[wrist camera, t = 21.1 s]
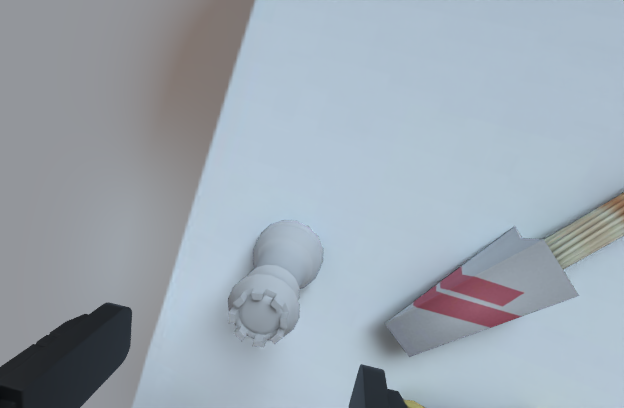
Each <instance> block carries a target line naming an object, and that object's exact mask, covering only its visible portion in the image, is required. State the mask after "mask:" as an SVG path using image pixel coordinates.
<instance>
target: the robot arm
mask: <svg viewBox="0 0 624 408" xmlns="http://www.w3.org/2000/svg"><path fill="white" fill-rule="evenodd" d="M131 321H132V310H131V309H130V308H129V307H125V306H121V305H117V304H113V303H105V304H103V305H102V306H100V307H99V308H97V309H96V310H95V311H93V312H92V313H91V314H89V315H88V314H84V315H81V316H79V317H76V318H74V319H71V320H69V321H67V322H65V323H63V324H62V325H61V326H59V327H58V328H56V329H55V330H53V331H52V332H50V334H49V335H46V336H45V337H43V338H42V339H40V340H39V341H38V342H37V343H36V344H33V345H31V346H30V347H29V348H27V349H26V350H24V351H23V352H21V353H20V354H18V355H17V356H16V357H14V358H13V359H11V360H10V361H9V362H7V363H5V364H4V365H2V366H1V367H0V408H80V407H81V406H82V405H83V404H84V403H85V402H86V401H87V400H88V399H89V398H90V397H91V396H92V394H93V393H94V392H95V391H96V390H97V389H98V388H99V387H100V386H101V385H102V384H103V383H104V382H105V381H106V380H107V379H108V378H109V377H110V376H111V375H112V373H113V372H114V371H115V370H116V369H117V368H118V367H119V366H120V365H121V364H122V363H123V361H124V360H125V358H126V356H127V354H128V352H129V348H130V340H131V339H130V338H131ZM349 408H408V407H407V405H406V403H405V402H404V400H403V398H402V397H401V395H400V393H399V392H398V391H394V390H390V389H387V385H386V378H385V372H384V370H382V369H378V368H374V367H370V366H366V365H362V364H361V365H360V367H359V370H358V374H357V378H356V381H355V385H354V388H353V392H352V396H351V399H350V403H349Z"/></svg>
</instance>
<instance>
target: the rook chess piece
mask: <svg viewBox="0 0 624 408" xmlns="http://www.w3.org/2000/svg"><path fill="white" fill-rule="evenodd" d="M322 262H323V247H322V244H321V241H320V239H319V236H318V235H317V234H316V233H315V232H314V231H313V230H312V229H311V228H310V227H309V226H307V225H305V224H302V223H300V222H298V221H291V220H282V221H279V222H276V223H273V224H270V225H269V226H268V227H267V228H266V229H265V230H264V231H263V232H262V233H261V235H260V237H259V238H258V240H257V242H256V245H255V247H254V249H253V265H254V267H255V269H254V270H253V271H251V272H250V273H249V274H248V275H247V277H245V278H243V279H241V280H240V281H239V282H238V283H237V284H236V285H235V286H234V287H233V288H232V291H231V293H230V296H229V298H228V307H229V313H228V315H229V323H234V324H235V325H236V326H237V328H236V330H235V332H234V334H235V335H236V336H237V337H238V338H239V339H240V340H241V341H242V340H243V339H244V338H245V336H246V335H247V336H249V337H251V338H253V339H254V341H253V345H252V346H254V347H264V345H265V343H266V340H271V341H272V342H273V343H274V344H276V343H277V342H278V341H279V340H281V339H282V338H283V337H284V336H285V335H287V334H288V333H289V332H290V331H292V330H293V329H294V327H295V325H296V323H297V321H298V319H299V312H300V304H299V302H298V300H299V290H300V289H302V288H304V287H305V286H307V285H308V284H309V283H310V282H311V281H313V280H314V279H315V278H316V276H317V274H318V272H319V270H320V268H321V264H322Z"/></svg>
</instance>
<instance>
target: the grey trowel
mask: <svg viewBox="0 0 624 408" xmlns="http://www.w3.org/2000/svg"><path fill="white" fill-rule="evenodd" d="M622 236H624V193H623V194H621V195H619V196H617V197H616V198H614V199H612V200H611V201H609V202H607V203H605V204H604V205H602V206H600V207H599V208H597V209H595V210H594V211H592V212H590V213H589V214H587V215H585V216H584V217H582V218H580V219H579V220H577V221H575V222H574V223H572V224H570V225H568V226H567V227H565V228H563V229H561V230H560V231H558V232H556V233H554V234H553V235H551V236H549V237H547V238H546V239H528V238H522V236H521V235H520V233H519V232H518V230H517V229H516V227H513V228H512V229H511V230H509V231H508V232H507V233H505V234H504V235H503V236H501V237H500V238H498V239H497V240H496V241H494V242H493V243H492V244H490V245H489V246H488V247H486V248H485V249H484V250H482V251H481V252H480V253H478V254H477V255H476V256H474V257H473V258H472V259H470V260H469V261H468V262H466V263H465V264H464V265H462V266H461V267H460V268H458V269H457V270H456V271H454V272H453V273H452V274H450V275H449V276H448V277H446V278H445V279H444V280H442V281H441V282H439V283H438V284H437V285H435V286H434V287H433V288H431V289H430V290H429V291H427V292H426V293H425V294H423V295H422V296H421V297H419V298H418V299H417V300H415V301H414V302H413V303H411V304H410V305H409V306H407V307H406V308H405V309H403V310H402V311H401V312H399V313H398V314H397V315H395V316H394V317H393V318H391V319H390V320H389V321H387V322H386V323H385V325H386V326H387V328H388V329H389V330H390V332H391V333H392V334H393V336H394V337H395V339H396V340H397V341H398V343H399V344H400V345H401V347H402V348H403V349H404V351H405V352H406V353H407V355H408V356H409V357H410V356H413V355H416V354H419V353H422V352H424V351H427V350H430V349H433V348H435V347H438V346H441V345H444V344H447V343H449V342H452V341H455V340H458V339H460V338H463V337H466V336H469V335H472V334H474V333H477V332H480V331H483V330H485V329H488V328H491V327H494V326H497V325H499V324H502V323H505V322H508V321H510V320H513V319H516V318H519V317H522V316H524V315H527V314H530V313H533V312H535V311H538V310H541V309H544V308H546V307H549V306H552V305H555V304H558V303H560V302H563V301H566V300H569V299H571V298H574V297H577V296H579V295H578V293H577V291H576V290H575V288H574V287H573V285H572V283H571V282H570V280H569V279H568V277H567V276H566V274H565V272H564V271H563V269H565V268H566V267H568V266H570V265H572V264H574V263H576V262H578V261H579V260H581V259H583V258H585V257H586V256H588V255H590V254H592V253H594V252H595V251H597V250H599V249H601V248H602V247H604V246H606V245H608V244H609V243H611V242H613V241H615V240H617V239H618V238H620V237H622Z"/></svg>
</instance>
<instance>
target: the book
mask: <svg viewBox="0 0 624 408" xmlns="http://www.w3.org/2000/svg"><path fill="white" fill-rule="evenodd" d="M404 402H405V403H406V405H407V407H408V408H425V407H423V406H421V405H420V404H418V403H416V402H415V401H410V400H404Z"/></svg>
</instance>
